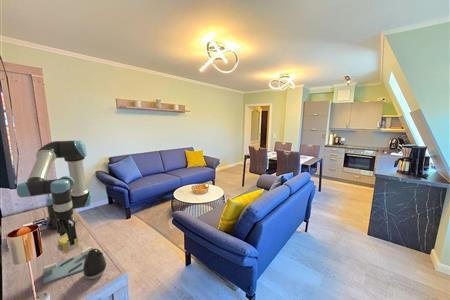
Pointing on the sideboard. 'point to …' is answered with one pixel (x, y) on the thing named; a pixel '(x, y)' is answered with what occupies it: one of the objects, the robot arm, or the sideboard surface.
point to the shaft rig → (65, 267)
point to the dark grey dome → (94, 264)
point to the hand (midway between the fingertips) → (68, 247)
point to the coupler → (65, 244)
